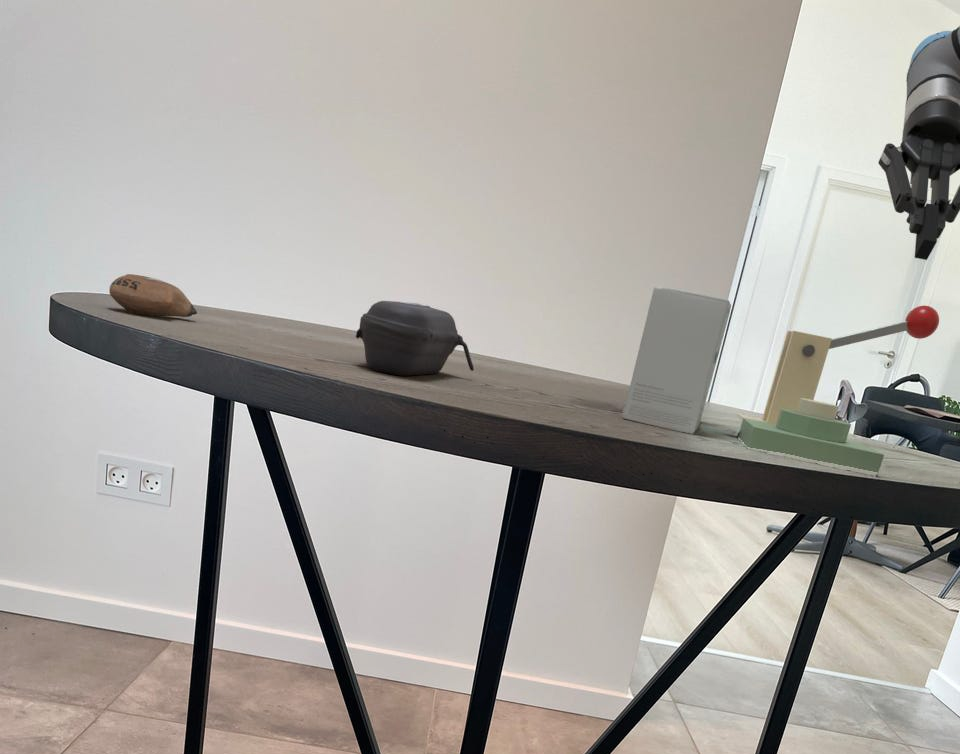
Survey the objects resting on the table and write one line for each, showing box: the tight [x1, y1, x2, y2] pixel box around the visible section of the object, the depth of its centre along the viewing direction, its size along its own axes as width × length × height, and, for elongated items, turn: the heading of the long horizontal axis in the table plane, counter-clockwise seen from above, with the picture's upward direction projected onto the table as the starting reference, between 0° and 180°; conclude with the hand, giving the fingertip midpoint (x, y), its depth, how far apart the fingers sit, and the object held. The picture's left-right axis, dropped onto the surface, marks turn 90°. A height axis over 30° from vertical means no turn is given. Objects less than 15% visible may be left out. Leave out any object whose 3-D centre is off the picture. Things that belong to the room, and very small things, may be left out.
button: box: [797, 398, 840, 421], centre depth 92 cm, size 4×4×2 cm
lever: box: [829, 305, 940, 350], centre depth 111 cm, size 16×4×4 cm, turn 81°
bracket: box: [737, 330, 833, 424], centre depth 114 cm, size 10×8×12 cm
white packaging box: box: [622, 286, 732, 435], centre depth 95 cm, size 7×7×13 cm
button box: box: [737, 409, 885, 473], centre depth 93 cm, size 12×10×4 cm
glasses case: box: [355, 300, 475, 377], centre depth 97 cm, size 18×10×8 cm, turn 168°
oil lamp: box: [109, 273, 198, 318], centre depth 102 cm, size 9×4×8 cm
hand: (925, 249), depth 116 cm, fingers closed
